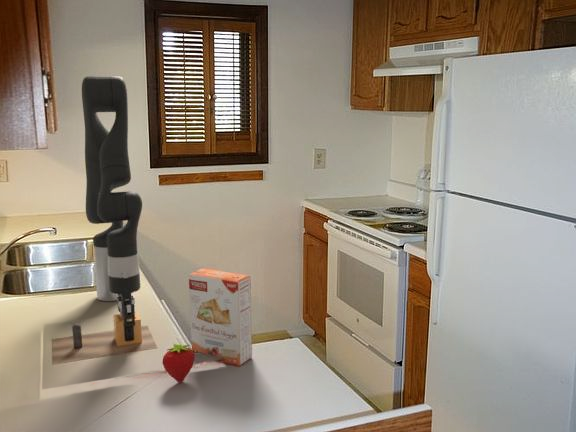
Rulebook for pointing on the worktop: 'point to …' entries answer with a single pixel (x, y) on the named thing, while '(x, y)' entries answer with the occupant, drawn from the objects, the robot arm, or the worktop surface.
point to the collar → (120, 330)
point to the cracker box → (221, 315)
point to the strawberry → (178, 361)
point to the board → (95, 345)
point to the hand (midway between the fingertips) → (127, 335)
